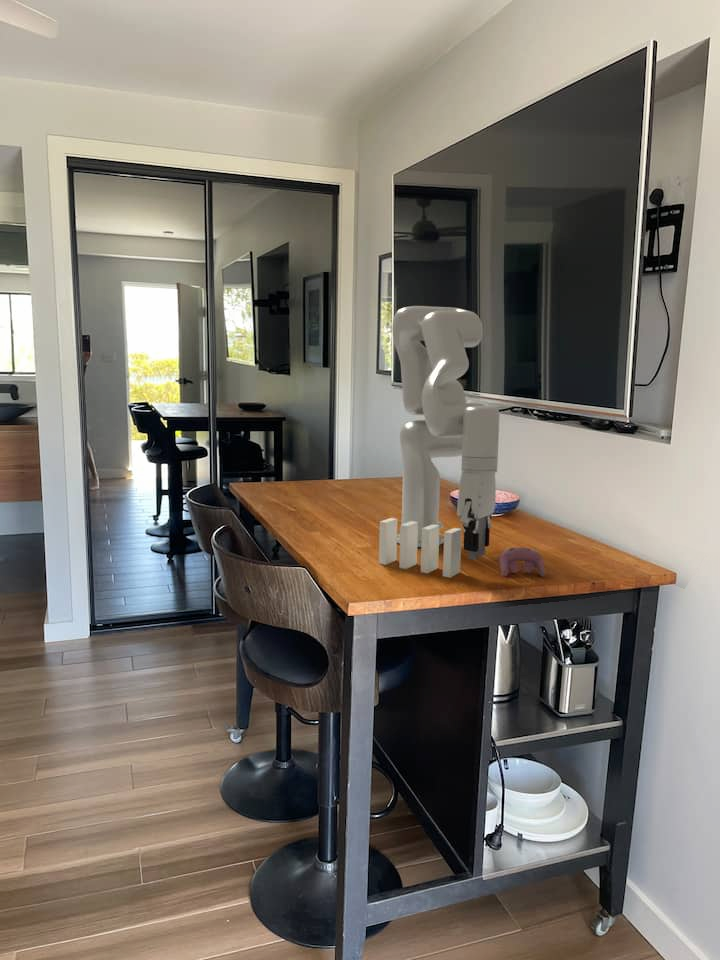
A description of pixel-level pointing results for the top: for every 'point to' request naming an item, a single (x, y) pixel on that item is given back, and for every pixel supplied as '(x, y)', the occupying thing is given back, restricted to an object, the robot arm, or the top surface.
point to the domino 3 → (430, 548)
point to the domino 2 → (408, 544)
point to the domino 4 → (452, 552)
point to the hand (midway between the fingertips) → (476, 547)
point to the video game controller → (521, 554)
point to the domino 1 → (388, 541)
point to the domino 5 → (482, 534)
